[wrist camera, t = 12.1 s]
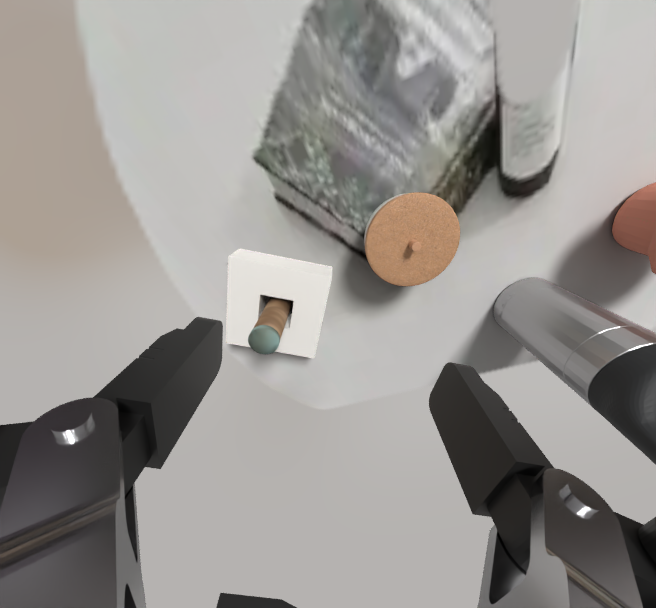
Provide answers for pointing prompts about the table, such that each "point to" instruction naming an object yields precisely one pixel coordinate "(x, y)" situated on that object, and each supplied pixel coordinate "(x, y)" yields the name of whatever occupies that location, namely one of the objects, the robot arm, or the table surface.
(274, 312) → the walnut dowel
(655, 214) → the decorative flower
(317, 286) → the socket block
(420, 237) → the lidded jar
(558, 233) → the table surface
